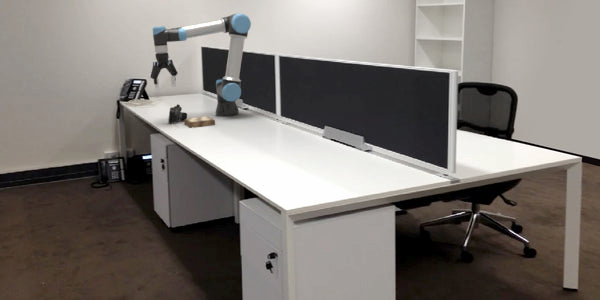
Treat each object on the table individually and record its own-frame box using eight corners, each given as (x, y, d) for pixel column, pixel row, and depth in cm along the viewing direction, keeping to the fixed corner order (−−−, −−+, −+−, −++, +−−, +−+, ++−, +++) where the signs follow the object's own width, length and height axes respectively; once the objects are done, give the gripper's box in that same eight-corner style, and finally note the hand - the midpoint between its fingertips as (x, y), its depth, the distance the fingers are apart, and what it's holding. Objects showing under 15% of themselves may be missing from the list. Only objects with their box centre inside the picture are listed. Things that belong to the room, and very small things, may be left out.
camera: (182, 126, 364) (184, 110, 361) (167, 123, 364) (169, 107, 361) (188, 121, 381) (190, 105, 379) (173, 118, 381) (175, 103, 379)
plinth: (208, 121, 368) (208, 116, 367) (215, 124, 355) (214, 119, 354) (184, 124, 362) (184, 118, 362) (190, 127, 349) (189, 122, 348)
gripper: (172, 50, 369) (175, 85, 374) (141, 54, 349) (146, 90, 354) (180, 50, 365) (184, 85, 370) (150, 54, 345) (155, 91, 350)
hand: (165, 88), depth 362 cm, fingers open, 13 cm apart
